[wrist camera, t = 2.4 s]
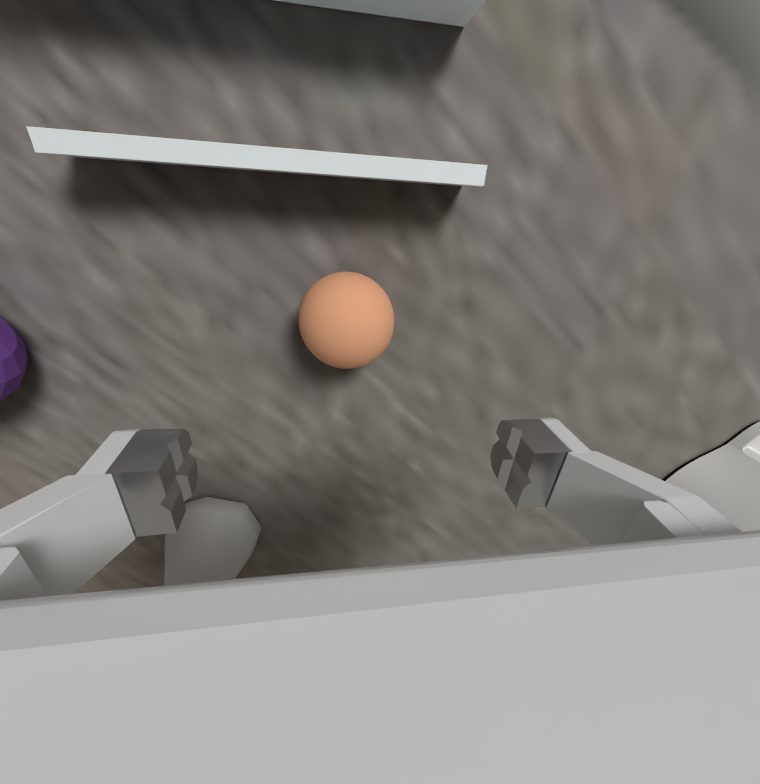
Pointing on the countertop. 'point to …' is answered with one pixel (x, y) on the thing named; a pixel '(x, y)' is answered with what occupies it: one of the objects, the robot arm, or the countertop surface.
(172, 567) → the flask
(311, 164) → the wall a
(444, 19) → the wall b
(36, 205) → the countertop surface
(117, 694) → the robot arm
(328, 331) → the ball
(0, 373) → the purple and orange maraca
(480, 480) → the countertop surface
